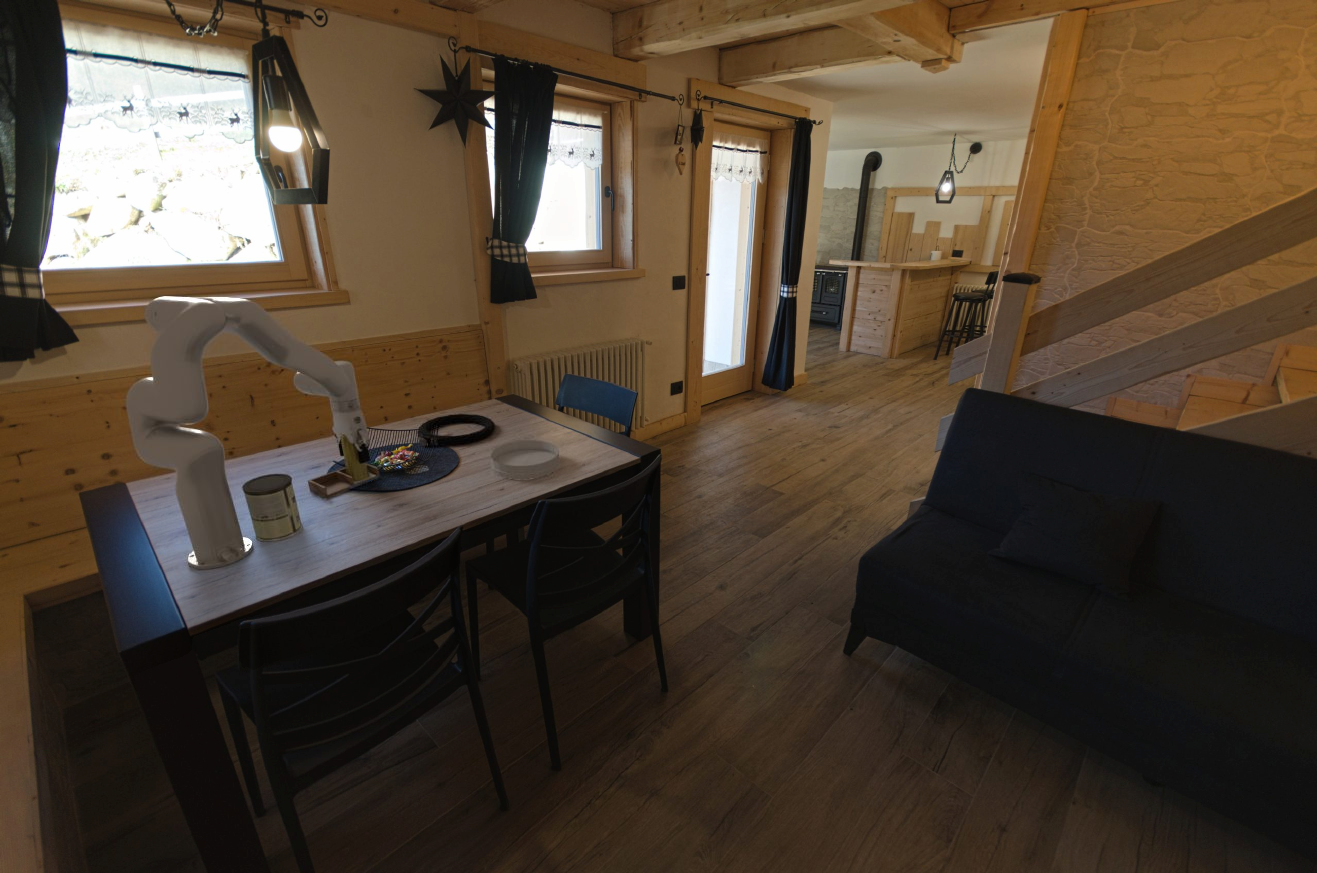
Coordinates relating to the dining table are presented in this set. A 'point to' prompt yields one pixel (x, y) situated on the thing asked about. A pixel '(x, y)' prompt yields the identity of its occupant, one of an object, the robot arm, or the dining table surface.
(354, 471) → the vase
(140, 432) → the robot arm
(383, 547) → the dining table surface
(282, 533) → the coffee can
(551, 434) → the dining table surface
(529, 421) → the dining table surface
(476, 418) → the cable lock
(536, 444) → the dish
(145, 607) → the dining table surface
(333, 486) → the wooden compartment tray
